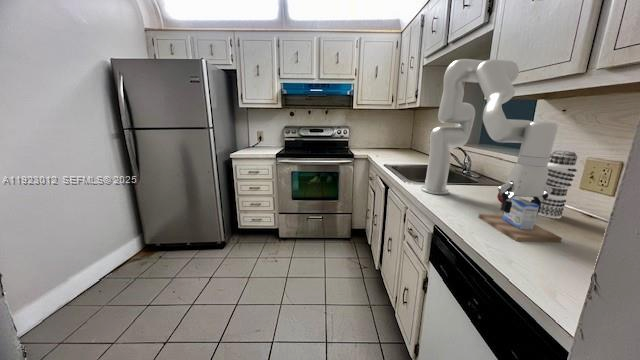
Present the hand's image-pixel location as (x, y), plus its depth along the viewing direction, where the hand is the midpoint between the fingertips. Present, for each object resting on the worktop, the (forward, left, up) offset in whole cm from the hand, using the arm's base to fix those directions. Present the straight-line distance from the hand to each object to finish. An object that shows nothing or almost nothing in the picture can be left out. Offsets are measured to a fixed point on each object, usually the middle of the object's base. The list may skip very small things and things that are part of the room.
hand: (519, 211), depth 84 cm
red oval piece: (-24, +14, -6) cm, 28 cm away
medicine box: (0, 0, -5) cm, 5 cm away
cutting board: (0, 0, -6) cm, 6 cm away
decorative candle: (-14, +24, -6) cm, 28 cm away
